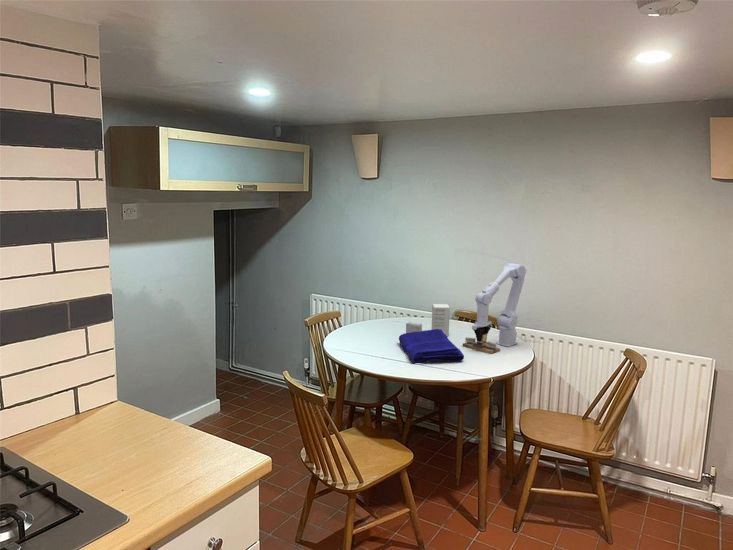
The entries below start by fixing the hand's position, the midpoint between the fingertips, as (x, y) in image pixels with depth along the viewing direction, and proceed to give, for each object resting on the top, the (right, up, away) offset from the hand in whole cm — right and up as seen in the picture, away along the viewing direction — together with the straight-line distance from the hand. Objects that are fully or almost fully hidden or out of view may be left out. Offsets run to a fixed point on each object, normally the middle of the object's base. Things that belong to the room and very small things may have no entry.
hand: (481, 340), depth 283 cm
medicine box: (-34, -1, +18) cm, 39 cm away
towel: (-28, -6, -6) cm, 29 cm away
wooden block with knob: (0, -2, 0) cm, 2 cm away
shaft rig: (0, -4, +1) cm, 4 cm away
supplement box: (-18, 0, +27) cm, 33 cm away
